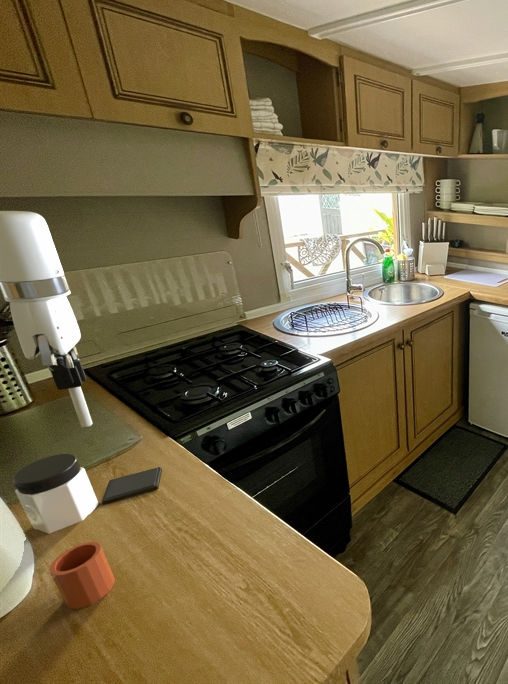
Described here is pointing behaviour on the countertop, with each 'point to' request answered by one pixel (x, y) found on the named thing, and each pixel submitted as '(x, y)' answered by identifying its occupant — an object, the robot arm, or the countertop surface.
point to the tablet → (132, 485)
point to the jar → (55, 492)
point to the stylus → (80, 405)
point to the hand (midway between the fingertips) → (72, 384)
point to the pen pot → (82, 574)
